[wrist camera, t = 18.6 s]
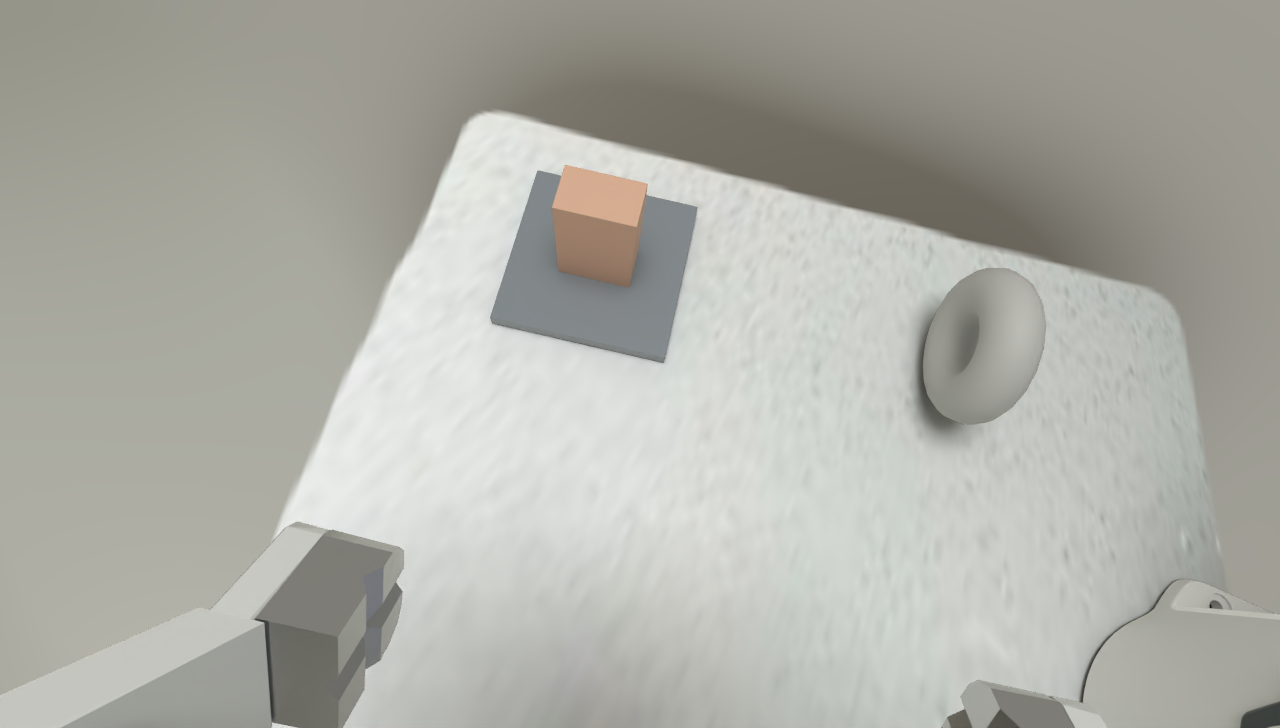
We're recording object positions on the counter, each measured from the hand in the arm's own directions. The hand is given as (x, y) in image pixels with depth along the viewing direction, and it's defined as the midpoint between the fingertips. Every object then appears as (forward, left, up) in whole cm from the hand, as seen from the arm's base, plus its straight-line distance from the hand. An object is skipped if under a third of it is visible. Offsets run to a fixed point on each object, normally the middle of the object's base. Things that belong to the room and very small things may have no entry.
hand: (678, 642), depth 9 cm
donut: (-19, -19, -32) cm, 42 cm away
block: (+6, -21, -30) cm, 38 cm away
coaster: (+6, -21, -31) cm, 38 cm away
